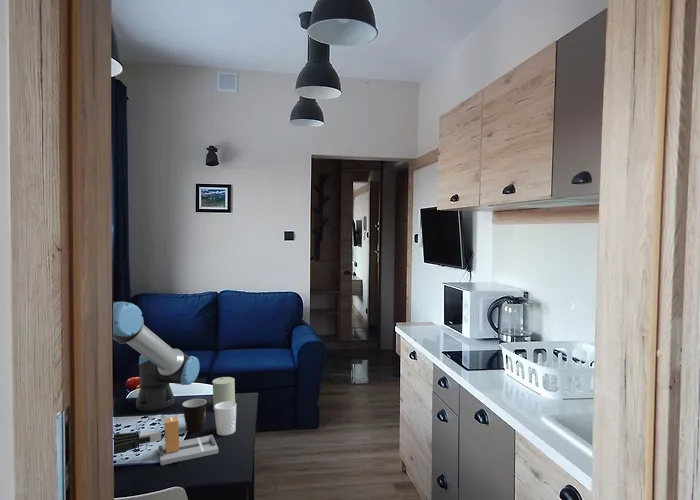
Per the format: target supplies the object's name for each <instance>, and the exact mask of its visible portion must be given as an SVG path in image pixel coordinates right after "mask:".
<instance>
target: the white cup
mask: <svg viewBox="0 0 700 500" xmlns="http://www.w3.org/2000/svg"><path fill="white" fill-rule="evenodd" d="M214 409H215V410H214ZM214 409H213V410H214V418H215V419H214V420H215V428H216V434H217V435H219V436H230V435H233V434H235V432H236V427H237V426H236V423H237V403H236V401H235V402H230V401H227V402H221V403H218V404H216V405H215V406H214Z"/></svg>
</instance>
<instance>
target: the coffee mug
mask: <svg viewBox="0 0 700 500" xmlns="http://www.w3.org/2000/svg"><path fill="white" fill-rule="evenodd" d="M207 402H208V401H207V399H204V398H192V399H188V400H186V401H183V402H182V409H183V416H184V424H185V429H186V430H187V431H188V432H187V431H186V430H185V431H186V432H187V433H190V432H195V433H198V432H201V431H203V430H204V429H205V423H206V411H207Z"/></svg>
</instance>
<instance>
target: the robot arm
mask: <svg viewBox="0 0 700 500" xmlns="http://www.w3.org/2000/svg"><path fill="white" fill-rule="evenodd" d="M112 302H113V338H112V339H113V341H115V342H117V343H118V344H127V345H129V346H130V347H131V348H132V349H134V350H135V351H137V352H138V353H139V354H140V355H139V358H138V359H139V360H138V361H139V362H138V368H139V369H138V373H139V391H138V395H137V398H136V401H135V402H136V403H135V408H136V409H137V410H139V411H143V412H144V411H145V412H149V411H150V412H151V411H159V410H163V409H166V408H169V407H170V406H172V405H174V403H175V396H174V393H173V390H172V388H171V386H170V384H175V385H182V386H184V385H185V386H188V385H189V386H190V385H192V384H193V383H194V382H195V381H196V380H197V378H198V375H199V372H200V361H199V358H198V357H196V356H193V355H187V354H186V353H185V352H183V351H182V350H180V349H179V348H172V347H171V346H170V345H169V344H167V343H166V342H165V341H163V339H162V338H160V337H159V336H158V335H157V334H155V333H154V332H153V331H152V330H150V328H148V327H147V326H146V325H145V324H144V323H145V322H144V316H142V315H143V312H142V311H141V309H140V308H139V306H138V305H135V303H132V302H127V301H112ZM113 434H114V455H118V454H121V453H124V452H128V451H132V450H135V449H139V448H140V445H144V444H150V443H154V442H159V441H162V431H161V430H157V431H150V432H145V433H140V432H139V431H134V432H133V431H132V432H123V433H113Z"/></svg>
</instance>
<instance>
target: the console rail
mask: <svg viewBox="0 0 700 500" xmlns="http://www.w3.org/2000/svg"><path fill="white" fill-rule="evenodd" d="M157 449H159V450H158V455H159V462H160V466H164V465H169V464H174V463H177V462H178V461H179V462H183V461H187V460H188V461H189V460H193V459H197V458H202V457H203V458H204V457H207V456H213V455H216V454H219V447H218V445H217V442H216V440H215V437H214V434H209V435H205V436H200V437H196V438H195V437H194V438H190V439H185V440H179V451H174V452H169V453H166V448H165V443H164V444H159V445H158V447H157ZM173 462H174V463H173Z"/></svg>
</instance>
